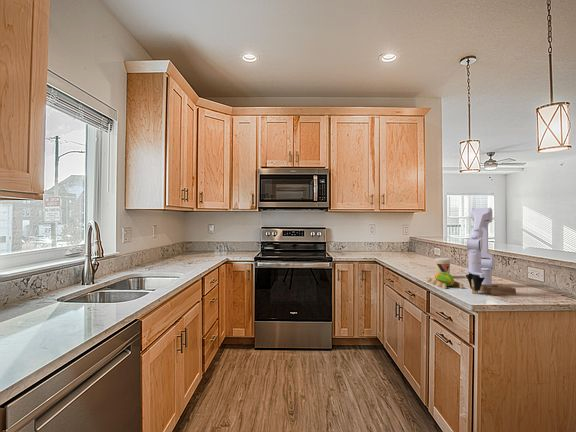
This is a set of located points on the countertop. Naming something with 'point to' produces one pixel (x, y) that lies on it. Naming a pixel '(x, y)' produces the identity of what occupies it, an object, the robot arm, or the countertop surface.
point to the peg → (473, 288)
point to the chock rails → (443, 283)
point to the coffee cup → (442, 265)
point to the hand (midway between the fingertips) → (475, 289)
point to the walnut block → (497, 289)
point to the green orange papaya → (445, 278)
